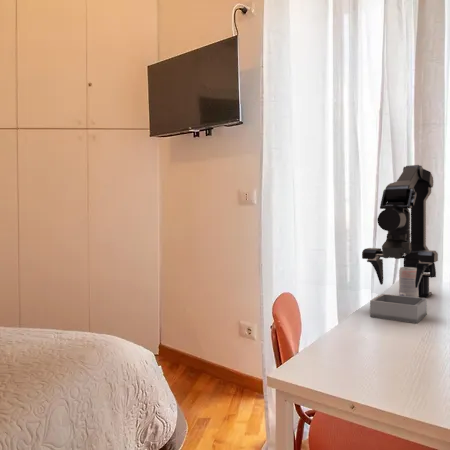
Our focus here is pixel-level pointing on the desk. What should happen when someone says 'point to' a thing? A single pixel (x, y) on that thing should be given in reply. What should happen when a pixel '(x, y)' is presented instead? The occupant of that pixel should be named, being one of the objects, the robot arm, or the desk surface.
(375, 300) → the crate
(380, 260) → the robot arm
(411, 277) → the energy drink
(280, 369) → the desk surface
